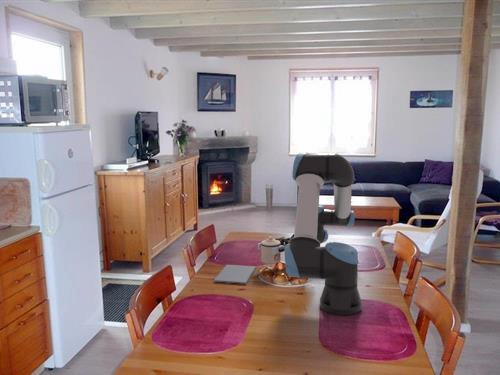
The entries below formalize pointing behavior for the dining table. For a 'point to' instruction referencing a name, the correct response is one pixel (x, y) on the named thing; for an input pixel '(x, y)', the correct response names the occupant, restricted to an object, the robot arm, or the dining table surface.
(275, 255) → the teacup with lid
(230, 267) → the serving board
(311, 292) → the dining table surface
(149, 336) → the dining table surface
